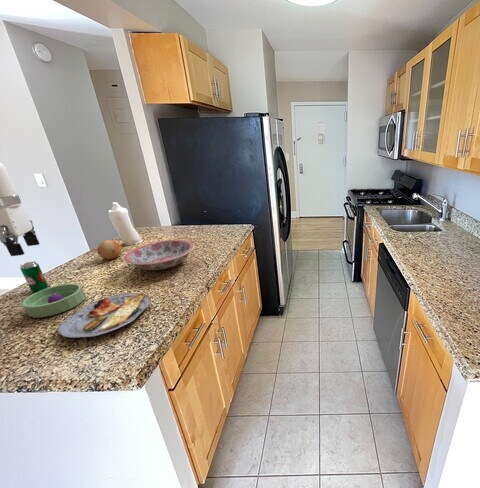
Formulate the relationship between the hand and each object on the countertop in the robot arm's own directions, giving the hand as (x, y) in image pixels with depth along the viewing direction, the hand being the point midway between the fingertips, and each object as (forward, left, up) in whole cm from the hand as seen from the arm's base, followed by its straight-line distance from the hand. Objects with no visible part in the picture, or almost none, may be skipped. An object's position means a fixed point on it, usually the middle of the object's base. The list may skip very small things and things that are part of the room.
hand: (26, 249), depth 91 cm
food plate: (+23, -20, -22) cm, 38 cm away
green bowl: (+3, -3, -22) cm, 23 cm away
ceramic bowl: (+36, +19, -22) cm, 47 cm away
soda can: (-9, +15, -22) cm, 28 cm away
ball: (+3, -3, -20) cm, 20 cm away
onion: (+10, +40, -22) cm, 47 cm away
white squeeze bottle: (+14, +62, -22) cm, 67 cm away
